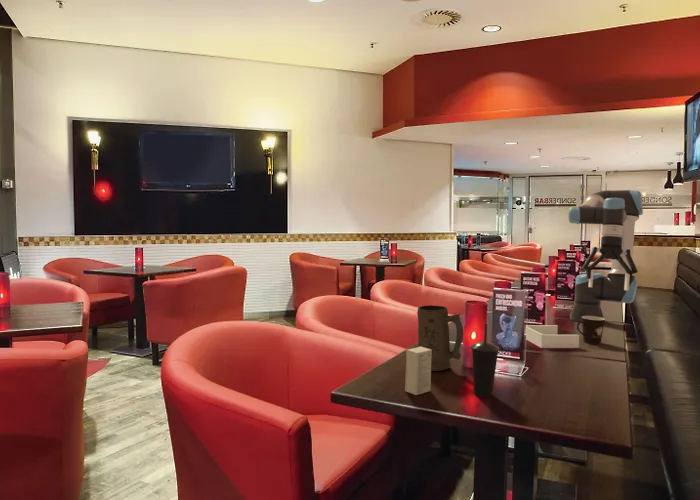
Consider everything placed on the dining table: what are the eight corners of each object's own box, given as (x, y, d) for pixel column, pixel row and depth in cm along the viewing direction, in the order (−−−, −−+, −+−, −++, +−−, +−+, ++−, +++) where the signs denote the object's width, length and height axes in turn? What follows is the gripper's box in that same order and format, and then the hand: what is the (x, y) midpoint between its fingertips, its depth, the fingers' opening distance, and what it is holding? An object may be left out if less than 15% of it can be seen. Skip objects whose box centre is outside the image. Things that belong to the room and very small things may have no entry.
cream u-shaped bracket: (556, 336, 218) (556, 325, 218) (578, 347, 200) (579, 335, 200) (521, 336, 217) (522, 325, 216) (541, 348, 199) (542, 335, 199)
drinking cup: (480, 400, 140) (483, 327, 139) (463, 391, 147) (466, 322, 146) (503, 397, 143) (506, 326, 142) (485, 388, 150) (488, 320, 149)
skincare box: (419, 387, 150) (421, 346, 150) (431, 391, 147) (432, 349, 146) (404, 391, 146) (405, 349, 146) (415, 395, 143) (416, 352, 142)
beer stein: (411, 369, 167) (413, 308, 166) (419, 361, 177) (421, 303, 176) (460, 375, 162) (462, 312, 161) (464, 366, 172) (467, 307, 171)
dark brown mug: (598, 340, 214) (600, 316, 213) (607, 345, 205) (608, 320, 205) (569, 339, 215) (571, 315, 214) (576, 344, 206) (578, 319, 206)
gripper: (581, 233, 208) (577, 286, 207) (648, 238, 204) (645, 291, 203) (576, 234, 215) (573, 285, 215) (641, 239, 211) (638, 291, 210)
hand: (608, 288), depth 209 cm, fingers open, 13 cm apart
